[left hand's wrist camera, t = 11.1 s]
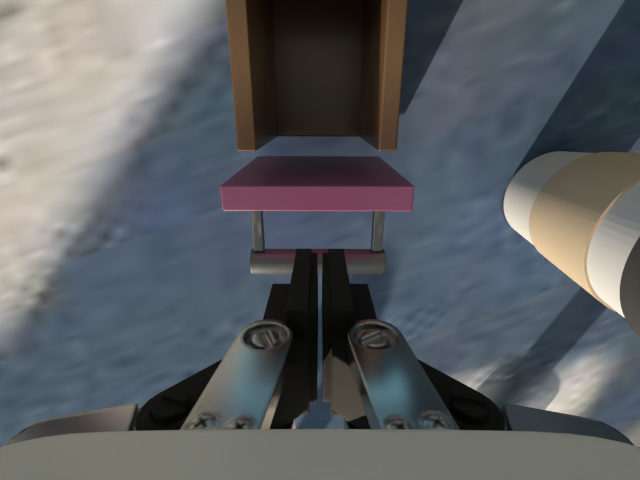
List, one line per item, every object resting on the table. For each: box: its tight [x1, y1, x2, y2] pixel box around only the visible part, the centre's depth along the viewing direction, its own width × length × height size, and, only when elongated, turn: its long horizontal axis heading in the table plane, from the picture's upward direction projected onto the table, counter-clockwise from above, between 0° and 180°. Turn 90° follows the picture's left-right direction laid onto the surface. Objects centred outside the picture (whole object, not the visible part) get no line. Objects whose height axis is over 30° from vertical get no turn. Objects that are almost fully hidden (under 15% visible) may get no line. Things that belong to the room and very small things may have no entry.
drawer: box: [220, 0, 414, 274], centre depth 18 cm, size 22×9×10 cm, turn 0°
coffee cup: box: [504, 151, 640, 336], centre depth 19 cm, size 9×9×15 cm
